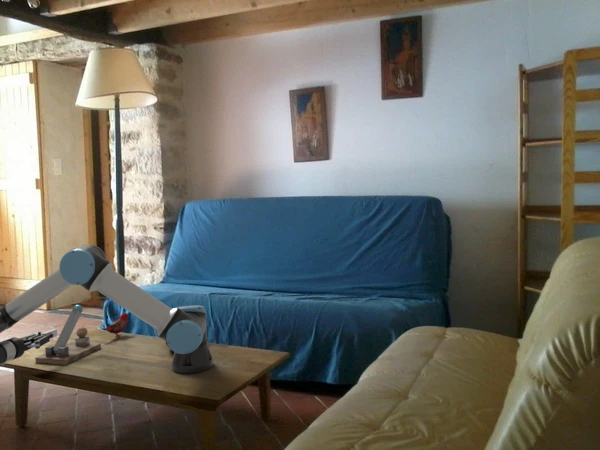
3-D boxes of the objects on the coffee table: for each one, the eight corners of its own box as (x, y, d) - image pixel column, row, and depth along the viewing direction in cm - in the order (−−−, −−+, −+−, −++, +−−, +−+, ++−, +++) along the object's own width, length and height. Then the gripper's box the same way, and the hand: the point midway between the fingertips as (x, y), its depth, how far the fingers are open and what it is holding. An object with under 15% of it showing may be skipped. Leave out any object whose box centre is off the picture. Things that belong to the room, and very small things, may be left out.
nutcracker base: (65, 364, 211) (64, 341, 210) (35, 362, 214) (34, 339, 214) (100, 348, 232) (99, 326, 231) (72, 346, 235) (71, 325, 235)
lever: (57, 352, 213) (81, 303, 227) (49, 351, 214) (73, 302, 228) (63, 356, 216) (86, 308, 230) (54, 356, 217) (78, 307, 231)
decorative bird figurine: (132, 332, 255) (130, 311, 254) (102, 343, 239) (101, 320, 238) (127, 332, 256) (126, 311, 255) (97, 342, 240) (96, 320, 240)
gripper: (-6, 359, 195) (42, 340, 218) (24, 361, 191) (69, 342, 214) (-7, 339, 194) (41, 322, 217) (22, 340, 191) (68, 323, 213)
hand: (55, 332), depth 215 cm, fingers closed
